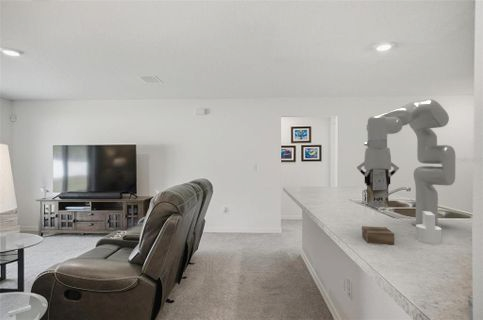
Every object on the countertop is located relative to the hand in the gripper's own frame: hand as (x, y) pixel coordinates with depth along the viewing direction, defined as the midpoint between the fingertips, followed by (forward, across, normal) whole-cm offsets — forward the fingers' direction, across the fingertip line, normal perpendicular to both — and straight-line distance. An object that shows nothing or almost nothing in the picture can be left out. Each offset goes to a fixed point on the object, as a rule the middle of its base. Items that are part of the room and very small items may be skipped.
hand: (377, 185), depth 111 cm
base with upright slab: (+24, +21, +8) cm, 33 cm away
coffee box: (+9, 0, 0) cm, 9 cm away
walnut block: (+24, 0, 0) cm, 24 cm away
